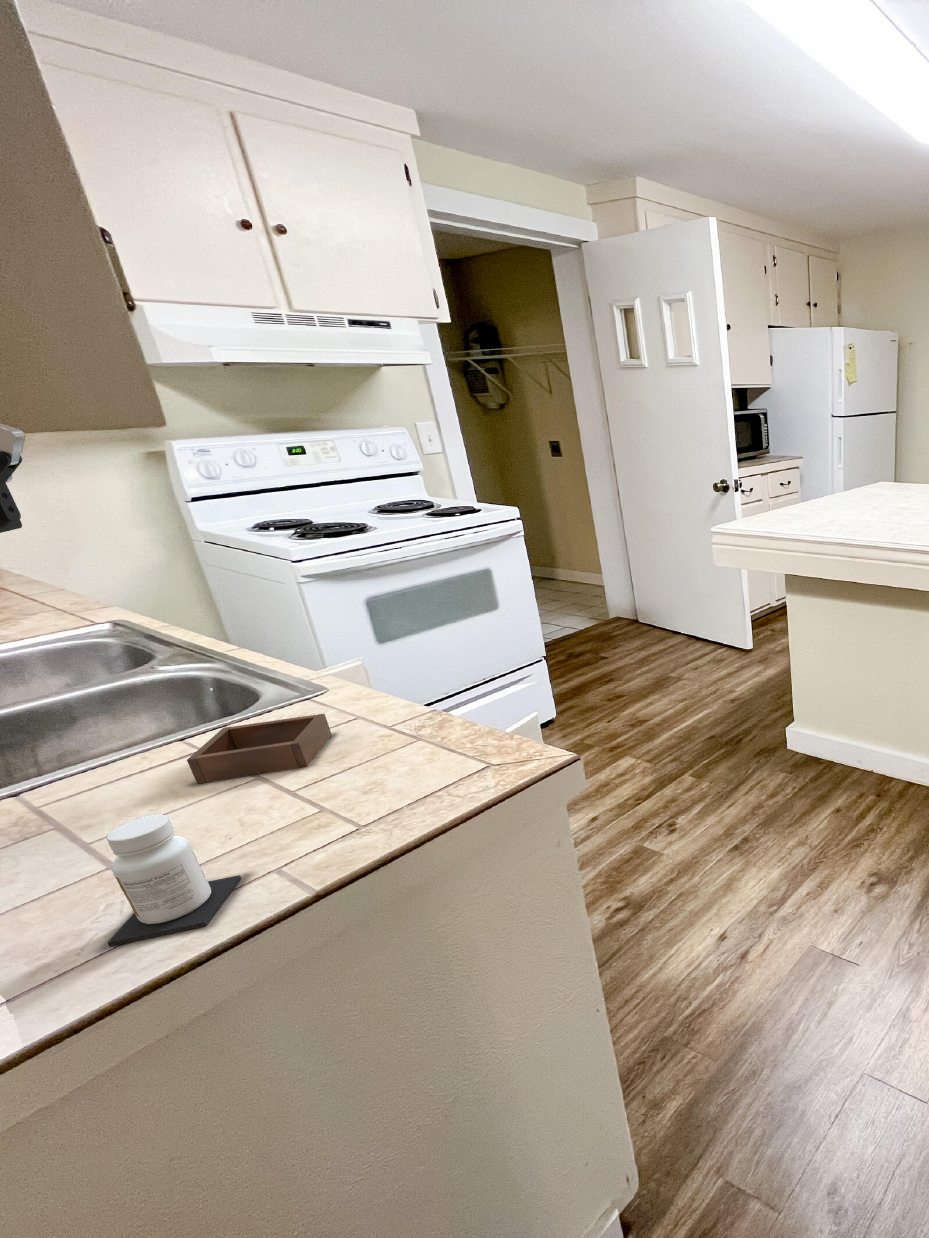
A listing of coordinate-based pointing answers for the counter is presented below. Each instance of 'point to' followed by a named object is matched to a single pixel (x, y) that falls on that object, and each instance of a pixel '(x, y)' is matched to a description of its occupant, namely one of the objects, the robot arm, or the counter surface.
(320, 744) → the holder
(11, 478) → the robot arm
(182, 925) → the coaster
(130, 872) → the pill bottle
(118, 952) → the counter surface
